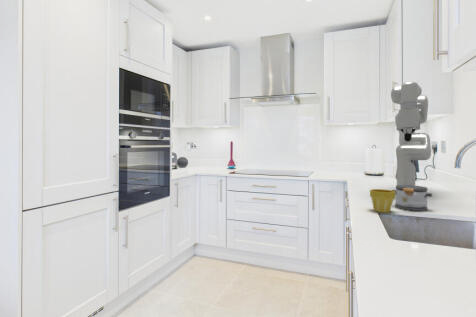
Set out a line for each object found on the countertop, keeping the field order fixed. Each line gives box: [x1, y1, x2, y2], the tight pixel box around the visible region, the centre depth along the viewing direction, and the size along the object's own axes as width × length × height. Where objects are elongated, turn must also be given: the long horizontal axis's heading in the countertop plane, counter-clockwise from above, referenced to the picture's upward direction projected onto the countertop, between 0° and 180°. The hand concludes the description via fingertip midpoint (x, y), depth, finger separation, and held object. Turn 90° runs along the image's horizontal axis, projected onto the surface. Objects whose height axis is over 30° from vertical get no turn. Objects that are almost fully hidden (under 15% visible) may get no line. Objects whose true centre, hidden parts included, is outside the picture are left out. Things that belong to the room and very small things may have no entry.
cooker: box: [390, 188, 433, 212], centre depth 132 cm, size 14×17×9 cm
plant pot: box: [369, 188, 396, 214], centre depth 126 cm, size 10×10×10 cm
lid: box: [395, 184, 428, 192], centre depth 131 cm, size 16×13×1 cm
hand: (407, 141), depth 142 cm, fingers closed
